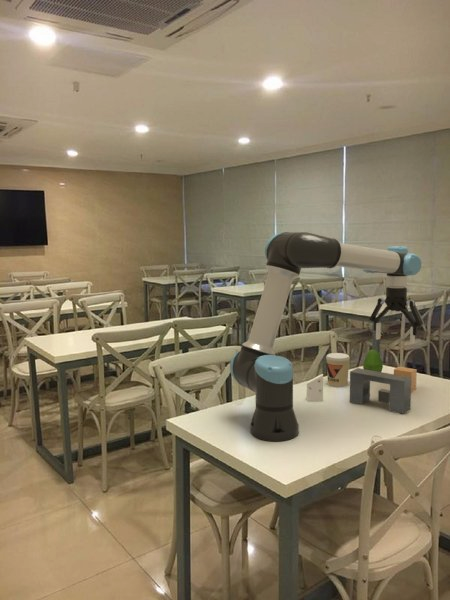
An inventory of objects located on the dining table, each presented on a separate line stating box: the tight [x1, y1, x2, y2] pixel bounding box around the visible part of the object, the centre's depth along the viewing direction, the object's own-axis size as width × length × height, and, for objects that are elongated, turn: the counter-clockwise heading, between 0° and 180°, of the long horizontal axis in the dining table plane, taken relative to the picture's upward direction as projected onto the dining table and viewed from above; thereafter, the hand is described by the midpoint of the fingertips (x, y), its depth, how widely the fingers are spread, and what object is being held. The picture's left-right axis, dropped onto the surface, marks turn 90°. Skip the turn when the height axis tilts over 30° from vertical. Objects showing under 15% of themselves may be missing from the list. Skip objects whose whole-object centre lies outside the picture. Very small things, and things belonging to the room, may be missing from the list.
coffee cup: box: [325, 352, 350, 388], centre depth 205 cm, size 9×9×12 cm
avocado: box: [362, 349, 384, 372], centre depth 214 cm, size 8×8×12 cm
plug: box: [377, 366, 418, 405], centre depth 190 cm, size 22×7×8 cm, turn 138°
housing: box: [349, 367, 412, 415], centre depth 179 cm, size 6×20×12 cm, turn 49°
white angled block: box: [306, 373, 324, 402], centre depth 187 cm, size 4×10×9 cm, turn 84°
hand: (394, 341), depth 195 cm, fingers open, 13 cm apart
